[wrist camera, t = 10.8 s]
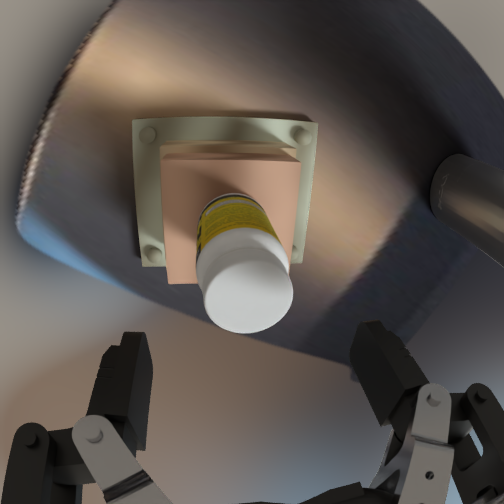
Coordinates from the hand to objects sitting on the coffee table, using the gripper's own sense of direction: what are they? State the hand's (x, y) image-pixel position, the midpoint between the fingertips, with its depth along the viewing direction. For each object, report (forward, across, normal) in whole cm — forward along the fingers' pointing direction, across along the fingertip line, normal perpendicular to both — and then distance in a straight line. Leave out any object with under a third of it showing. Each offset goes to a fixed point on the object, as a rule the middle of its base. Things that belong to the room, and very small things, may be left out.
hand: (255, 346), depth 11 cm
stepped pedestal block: (+19, 0, 0) cm, 19 cm away
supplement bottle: (+11, 0, 0) cm, 11 cm away
